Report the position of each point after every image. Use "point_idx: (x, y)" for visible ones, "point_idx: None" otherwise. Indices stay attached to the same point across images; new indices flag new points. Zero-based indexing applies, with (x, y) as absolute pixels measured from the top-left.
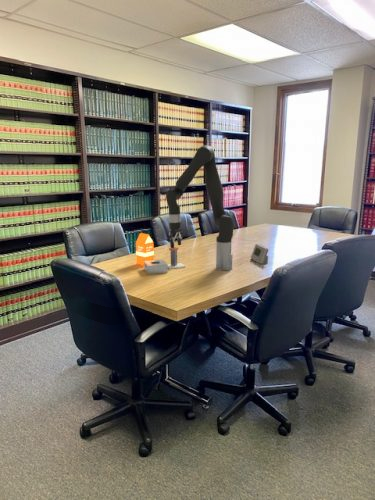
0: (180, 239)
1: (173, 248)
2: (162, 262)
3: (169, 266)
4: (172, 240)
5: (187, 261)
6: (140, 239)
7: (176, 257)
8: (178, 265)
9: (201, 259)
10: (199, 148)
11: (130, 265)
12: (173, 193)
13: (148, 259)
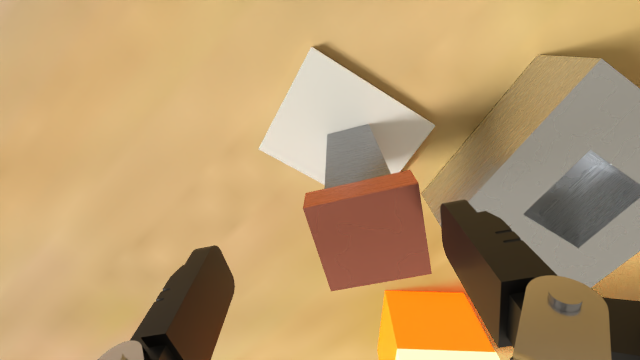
0: (147, 347)
1: (392, 231)
2: (544, 160)
3: (406, 151)
4: (599, 344)
5: (166, 166)
6: None
7: (340, 156)
8: (332, 114)
9: (25, 120)
10: None
11: (498, 352)
12: None
13: (448, 327)
